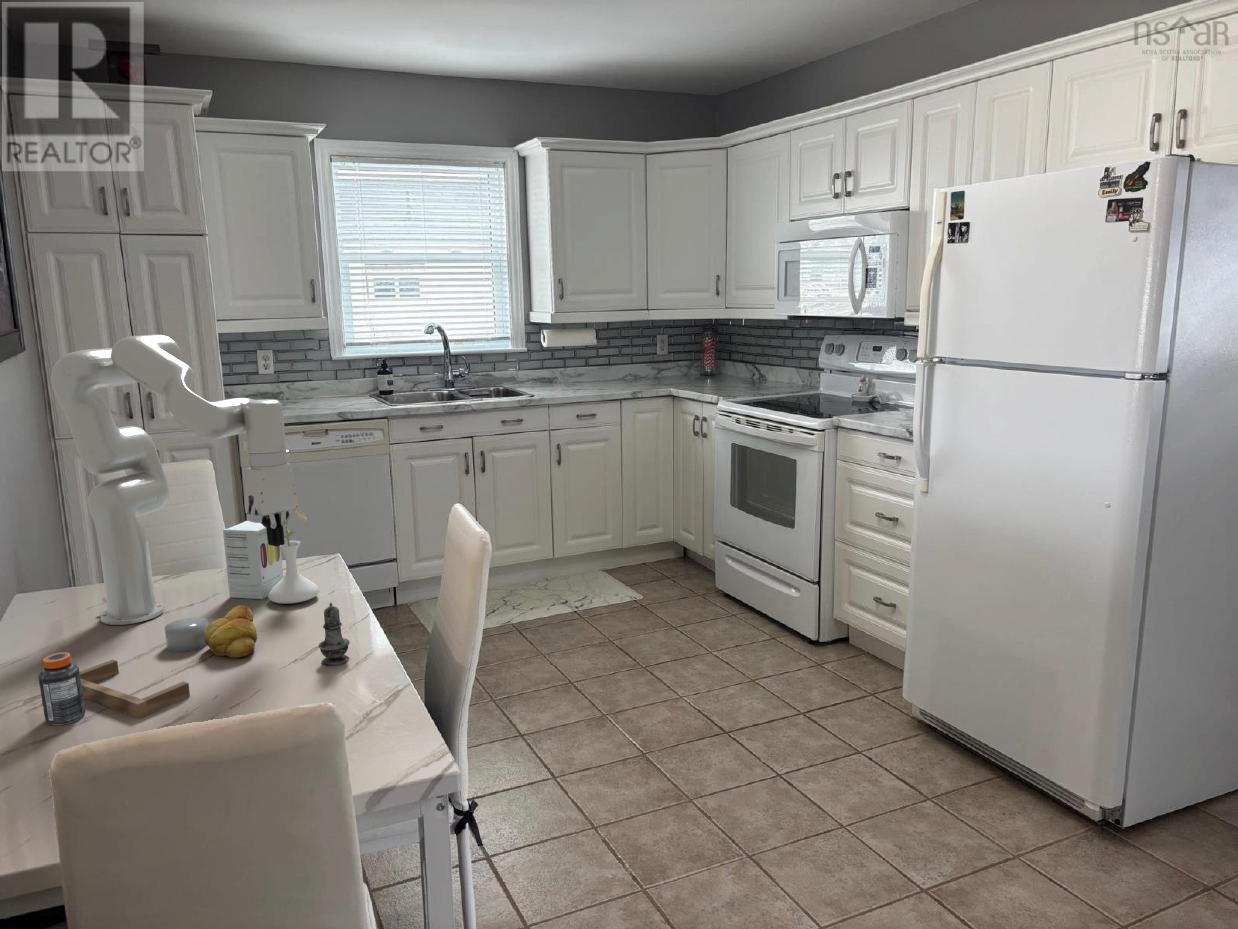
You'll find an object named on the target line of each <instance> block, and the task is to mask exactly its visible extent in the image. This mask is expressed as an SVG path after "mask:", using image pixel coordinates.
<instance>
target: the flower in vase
mask: <svg viewBox="0 0 1238 929" xmlns="http://www.w3.org/2000/svg"><path fill="white" fill-rule="evenodd" d="M295 508H296V511H295V512H294V513H295V514H296V515H297V516H298V517H299V518H300V519H301V520H302V521H303V522H307V520H308V517H307V516H306V514H305V512H303V511H302V510H301V509H300V505H299V504H298V503H297V504H296V506H295ZM290 517H291V515H289V516H288V518H287V519H286V524H285V525H284V526H283V527H284V529H285V535H284V539H287V540H286V541H284V543H285V544H284V545H280V546H279V547H280V548H281V552H282V553H283V555H284V559H285V566H286V567H285V568H286V572H285V575H283V579H282V580H281V581H279V582H278V583H277V584H276V585H275V586H274V587H273V588H272V589H271V590H270V592H269V595H268V597H267V598H268V599H269V600H270V601H271V602H273V603H277V604H283V605H284V604H285V605H286V604H297V603H302V602H306V601H309V600H311V599H313V598H314V597H316V596H318V593H319V592H320V589H319V586H318V585H317V584H316V583H314V582H313V581H311V580H309V579H308V578H307V577H304V576H303V575H301V574H300V573H299V571H298V567H297V552H298V549H299V547H300V545H301V541H300V540H289V539H290V537H291V536H292V535H294V534H295V531H293V530H289V529H288V522H289V519H290Z"/></svg>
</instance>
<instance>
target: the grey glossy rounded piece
mask: <svg viewBox="0 0 1238 929" xmlns="http://www.w3.org/2000/svg"><path fill="white" fill-rule="evenodd" d="M208 623H209V622H208V620H207V619H206V618H203V617H187V618H181V619H177V620H174V621H172V622H170V623H168V624H166V625H165V626H164V633H165V641H166V649H167V650H168V651H169V652H173V653H186V652H193V651H196V650H200V649H203V648H205V647H207V645H206V643H205V641H204V635H205V631H206V629H207V627H208V626H209V624H208Z"/></svg>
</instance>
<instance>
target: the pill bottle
mask: <svg viewBox="0 0 1238 929" xmlns="http://www.w3.org/2000/svg"><path fill="white" fill-rule="evenodd" d="M42 666H43V669H42V670H41V671H40V672H39V674H38V684H39V689H40V691H39V692H40V697H41V702H42V709H43V716H44V719H45V720H44V721H45V723H46V724H48V725H50V726H62V725H66V724H71V723H74V722H76V721H79V720H80V719H81V718H83V717H84V716H85V715H86V705H85V700H84V699H85V698H84V697H83V691H82V685H81V678H80V668H79V666H78V664H76V663H72V657H71V654H70V652H64V651H63V652H56V653H52V654H50V655H49V654H48V655H47V656H45V657H44V658H43V659H42Z"/></svg>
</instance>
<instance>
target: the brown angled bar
mask: <svg viewBox="0 0 1238 929" xmlns="http://www.w3.org/2000/svg"><path fill="white" fill-rule="evenodd" d="M79 672H80V678H81V685H82V691H83V697H84V699H86V700H89V701H91V702H94V703H97V704H100V705H101V706H102V705H103V706H105V707H108V708H110V709H114V710H117V711H119V712H122V713H125V714H128V715H131V716H133V717H135V718H139V719H141V718H144V717H145V716H147V715H149V714H153V713H154V712H156V711H159V710H162V709H163V708H166V707H168V706H171V705H173V704H175V703H177V702H179V701H183V700H184V699H187V698H189V697H190V696H191V693H190V684H189V682H186V681H180V682H178V683H177V684H176V683H175V684H174V685H172V686H169V687H166V688H164V689H161V690H159V691H156V692H154V693H152V694H150V695H147V696H145V697H143V698H139V697H137V696H133V695H130V694H127V693H124V692H121V691H118V690H117V689H116V690H115V689H112V688H110V687H106V686H103V685H100V684H97V682H100V681H103V680H104V679H107V678H110V677H113V676H115V675H118V674H120V671H119V663H118V660H115V659H110V660H108V661H105V662H102V663H100V664H97V665H96V664H95V665H94V666H91V667H88V668H85V669H82V670H81V671H80V670H79Z"/></svg>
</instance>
